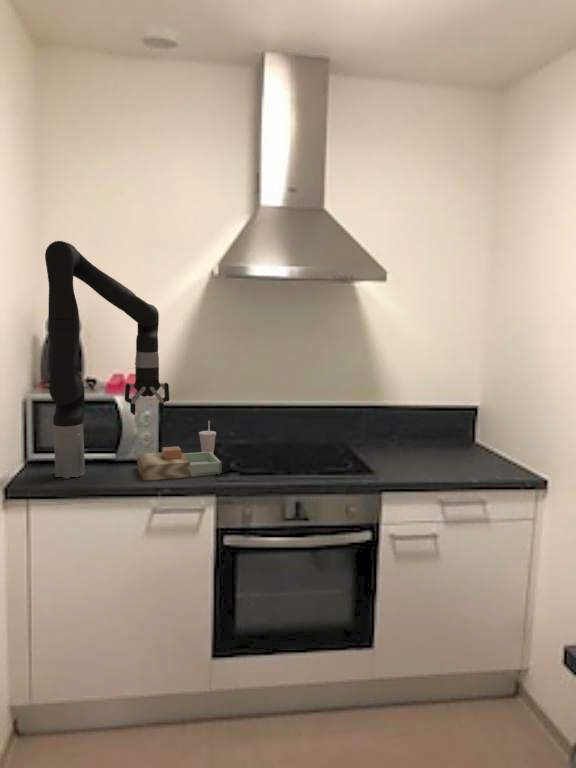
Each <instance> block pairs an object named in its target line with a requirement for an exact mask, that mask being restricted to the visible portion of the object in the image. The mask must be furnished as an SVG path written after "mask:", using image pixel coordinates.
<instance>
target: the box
mask: <svg viewBox="0 0 576 768" xmlns="http://www.w3.org/2000/svg"><path fill="white" fill-rule="evenodd" d="M182 453H183V454H184V456H185V457H186V458H187V459H188V460H189V462H190V477H191V478H193V477H194V478H195V477H203V476H204V477H205V476H217V475H216V474H218V475H221V474H220V473H223V472H222V470H223V468H222V467H223V466H222V465H223V462H222V461H221V460H220V459H219V458H218V457H217V456H216V455H215V453H214V452H213V453H212V452H202V451H200V452H198V451H197V452H187V453H185V452H182Z"/></svg>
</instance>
